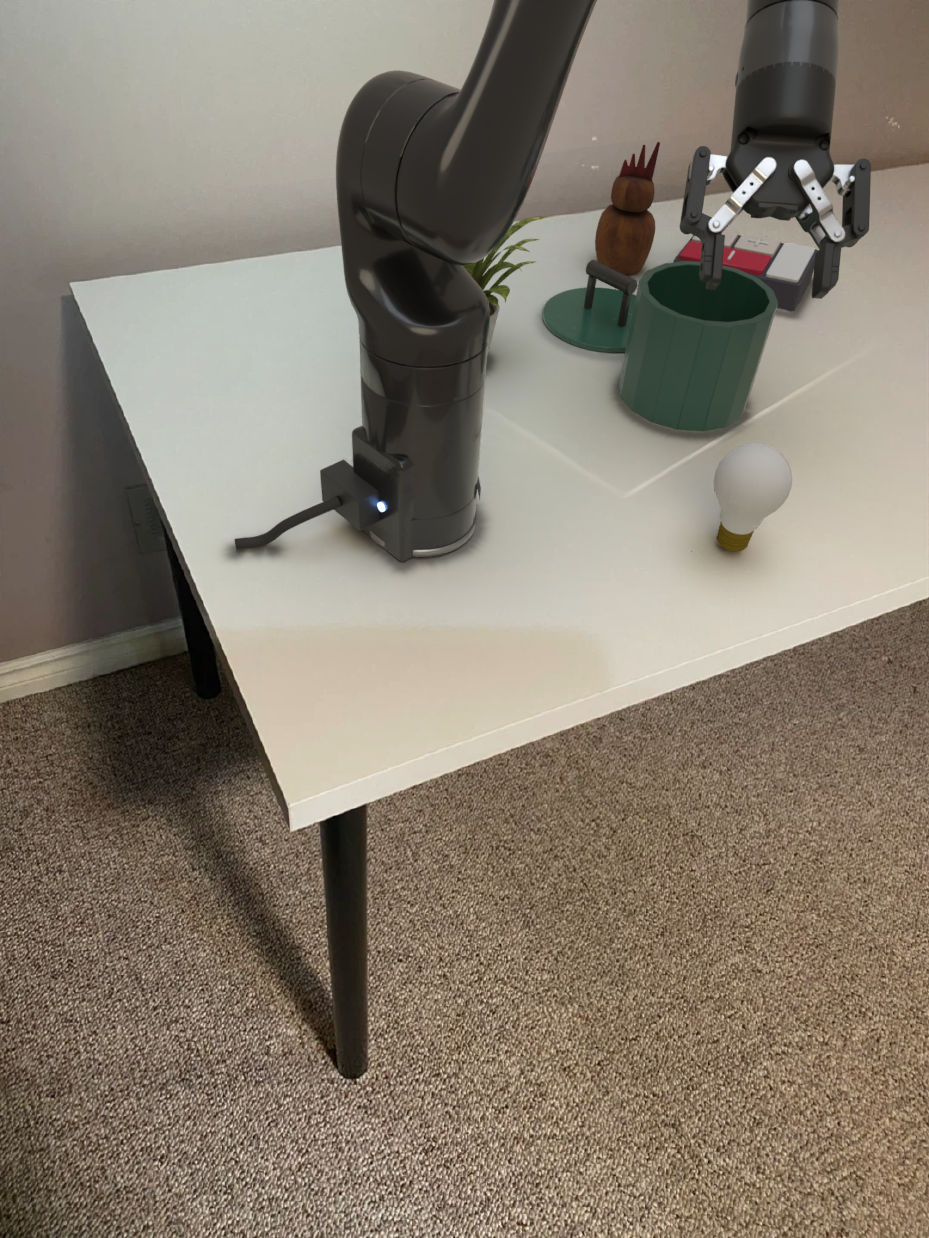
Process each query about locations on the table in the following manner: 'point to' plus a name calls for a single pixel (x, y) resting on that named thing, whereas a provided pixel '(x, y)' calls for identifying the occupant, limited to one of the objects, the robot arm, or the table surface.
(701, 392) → the tin
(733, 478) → the light bulb
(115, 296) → the table surface
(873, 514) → the table surface
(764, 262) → the calculator
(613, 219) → the wooden figurine
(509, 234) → the house plant
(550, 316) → the lid
